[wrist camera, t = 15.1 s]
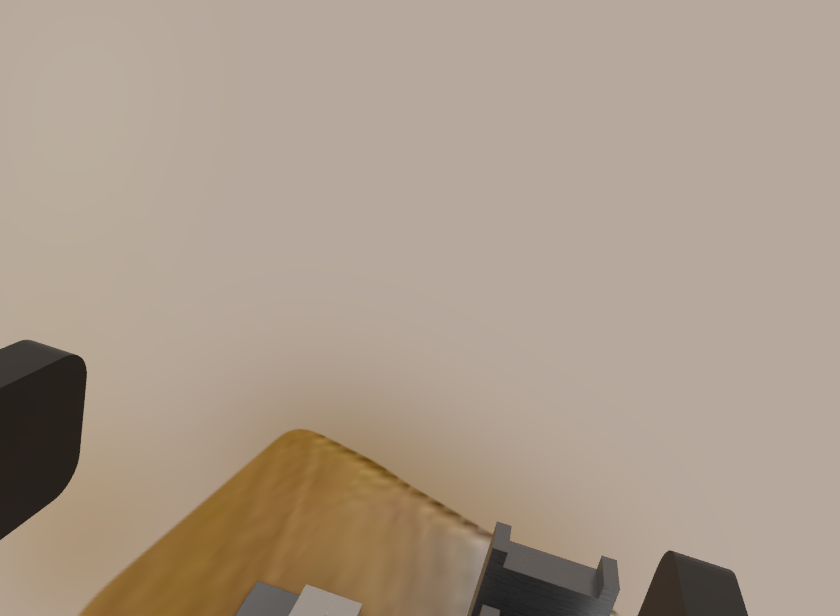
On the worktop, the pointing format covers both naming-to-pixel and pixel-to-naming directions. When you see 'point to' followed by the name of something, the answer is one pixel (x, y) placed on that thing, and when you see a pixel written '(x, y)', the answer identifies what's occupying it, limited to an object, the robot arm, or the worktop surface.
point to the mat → (267, 602)
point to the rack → (541, 583)
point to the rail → (324, 604)
